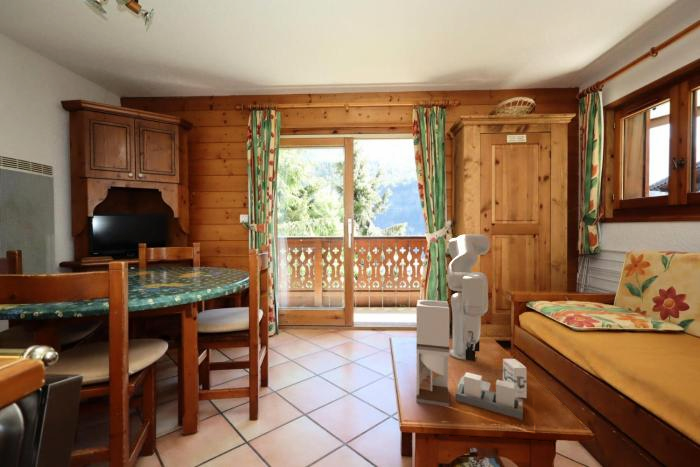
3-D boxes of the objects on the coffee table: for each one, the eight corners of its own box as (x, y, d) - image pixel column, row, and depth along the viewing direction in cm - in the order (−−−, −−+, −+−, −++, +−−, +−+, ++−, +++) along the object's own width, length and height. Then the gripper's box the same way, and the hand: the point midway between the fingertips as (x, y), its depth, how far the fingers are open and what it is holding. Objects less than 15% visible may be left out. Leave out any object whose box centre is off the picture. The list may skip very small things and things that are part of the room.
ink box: (502, 387, 115) (502, 358, 115) (514, 387, 115) (514, 358, 115) (514, 399, 107) (514, 367, 107) (527, 399, 106) (527, 367, 107)
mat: (462, 377, 123) (462, 375, 123) (490, 384, 117) (490, 382, 117) (456, 388, 114) (456, 387, 114) (487, 397, 108) (487, 395, 108)
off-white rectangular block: (496, 404, 103) (496, 379, 103) (514, 409, 100) (514, 383, 100) (495, 410, 100) (495, 384, 100) (514, 415, 97) (514, 388, 97)
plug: (466, 395, 109) (466, 372, 109) (481, 400, 106) (481, 375, 106) (463, 400, 105) (463, 376, 106) (480, 405, 102) (480, 380, 103)
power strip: (460, 391, 112) (460, 382, 112) (523, 408, 101) (523, 398, 101) (455, 401, 105) (455, 392, 105) (522, 421, 94) (522, 410, 94)
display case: (416, 401, 105) (416, 305, 105) (417, 387, 115) (417, 299, 115) (449, 406, 102) (449, 307, 102) (447, 391, 112) (447, 301, 112)
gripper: (466, 303, 115) (466, 345, 116) (457, 313, 101) (457, 362, 101) (486, 305, 112) (486, 349, 112) (480, 317, 97) (480, 367, 97)
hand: (472, 355), depth 106 cm, fingers open, 9 cm apart
